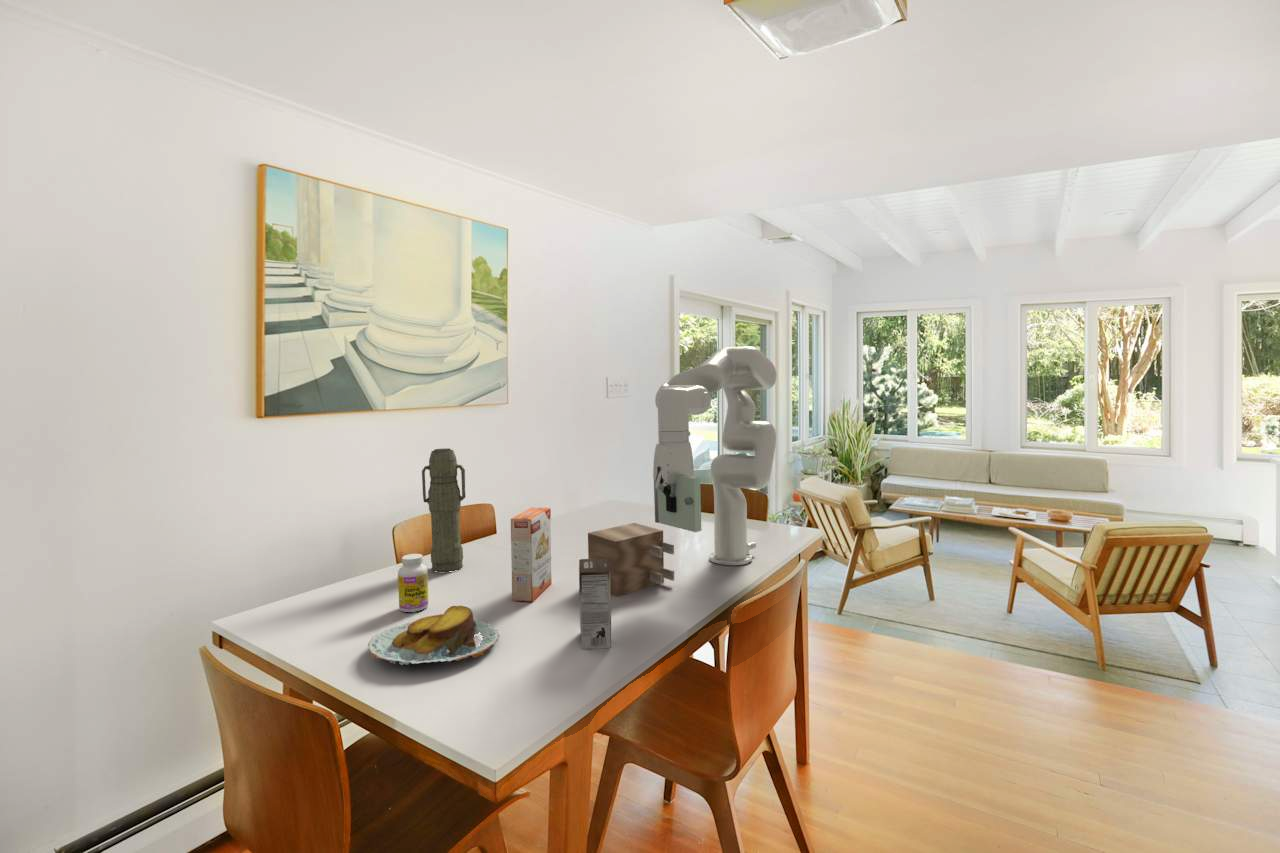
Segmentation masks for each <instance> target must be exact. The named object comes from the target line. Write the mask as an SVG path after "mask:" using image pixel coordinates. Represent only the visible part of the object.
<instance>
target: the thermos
mask: <svg viewBox="0 0 1280 853" xmlns="http://www.w3.org/2000/svg"><path fill="white" fill-rule="evenodd" d="M458 468H459V469H460V473H461V476H460V477H461V490H460V487H459V484H458V481H459V480H458V478H457V476H458ZM426 470H428V471H429V478H430V481H429V488H428V491H427V494H428V497H427V494H426V473H425V472H426ZM421 480H422V482H421V484H422V497H423V498H422V499H423V503H427V504H428V511H429V513H430V521H431V522H430V524H431V548H430V563H431V571H432V570H433V571H437V572H449V571H455V570H458V571H460V570H462V569H463V568H462V567H464V566H463V559H464V548H463V546H462V544H461V524H460V523H461V522H460V510H461V508H462V507H461V504H462V501H463V500H464V499H466V469H465V468H464V466H463V465H462V464H458V462H457V456H456V454H455V451H454V449H451V448H436V449H433V450H431V452H430V457H429V459H428V465H425V466H424V467H423V469H422V470H421ZM461 568H462V569H461ZM459 569H460V570H459ZM433 571H432V572H433ZM455 572H456V571H455ZM449 573H450V572H449Z"/></svg>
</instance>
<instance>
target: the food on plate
mask: <svg viewBox="0 0 1280 853" xmlns="http://www.w3.org/2000/svg"><path fill="white" fill-rule="evenodd" d="M479 632H480V633H481V634H480V635H482V636H483V637H482V638H483V640H482V641H481V640H480V641H481V643H480V646H478V647H476V646H477V644H476V642H475V637H474V635H475V634H478V633H479ZM499 638H500V634H499V631H498V629H496V628H495V626H493V625H491V624H489V623H488V622H484V621H483V622H482V621H481V620H476V619H474V612H473V611H472V609H471V608H470V607H468V606H464V605H452V606H450V607H448V608H447V609H446V610H445V611H444V612H443V614H442V613H441V614H435V615H429V616H424V617H421V618H419V619H417V620H415V621H408V622H406V623H404V624H402V625H395V626H392V627H389V628H385V629H384V630H382V631H380V632H378V633H376V634H375V635H374V636H373V637H372V638H371V639H370V641H369V643H368V651H369V653H371V657H374V658H376V659H383V660H385V661H388V662H389V664H392V663H393V664H394V665H395V664H396V662H399V663H398V664H399V665H401V666H403V665H405V666H407V665H410V664H421V663H422V664H423V663H428V664H429V663H432V662H434V663H437V662H443V663H444V662H450V663H451V662H452V661H454V660H455V661H458V662H459V661H460V660H465V659H467V658H469V657H470V656H471V657H473V659H474V658H476V657H479V655H480V656H483V655H484V652H485V651H486V650H490V648H491V647H493V645H495V644H496V643H497V642H498V640H499Z"/></svg>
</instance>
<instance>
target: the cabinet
mask: <svg viewBox="0 0 1280 853" xmlns="http://www.w3.org/2000/svg"><path fill="white" fill-rule="evenodd" d="M587 551H588V552H587V553H588V554H587V555H588V558H587V559H608V560H609V566H610V586H611V595H613V596H615V597H620V596H623V595H626V594H629V593H633V592H636V591H639V590H642V589H646V588H648V587H652V586H654V585H663V583H664V582H665V580H669V581H675V570H672V569H669V568H667V567H665V566H664V563H665V562H664V553H665V554H668V555H669V554H670V555H672V556H673V555H674V554H675V544H673V543H669V542H667V541H666V542H665V541H664V530H663V529H659V528H656V527H651V526H648V525H644V524H640V523H636V522H632V523H628V524H623V525H618V526H613V527H609V528H605V529H599V530H595V531H590V532H588V533H587Z"/></svg>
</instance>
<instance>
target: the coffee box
mask: <svg viewBox="0 0 1280 853" xmlns="http://www.w3.org/2000/svg"><path fill="white" fill-rule="evenodd" d="M578 565H579V566H578V571H579V572H578V581H579V584H578V586H579V588H578V589H579V592H578V594H579V597H578V598H579V621H580V625H579V626H580V627H579V628H580V647H581V650H589V649H590V650H591V649H592V650H593V649H610V648H612V604H611V603H612V599H611V598H612V594H611V586H610V566H609V560H608V559H588V558H581V559H579V562H578Z"/></svg>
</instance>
